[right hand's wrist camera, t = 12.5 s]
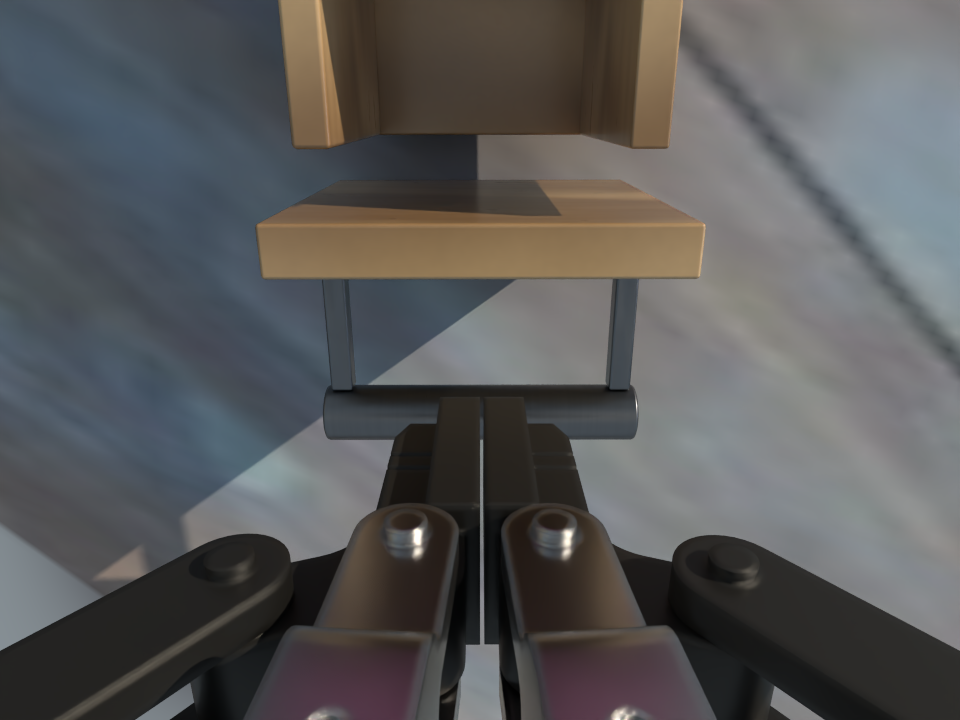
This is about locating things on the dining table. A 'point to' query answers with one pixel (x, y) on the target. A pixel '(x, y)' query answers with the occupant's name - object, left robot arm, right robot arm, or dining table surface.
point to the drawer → (480, 203)
